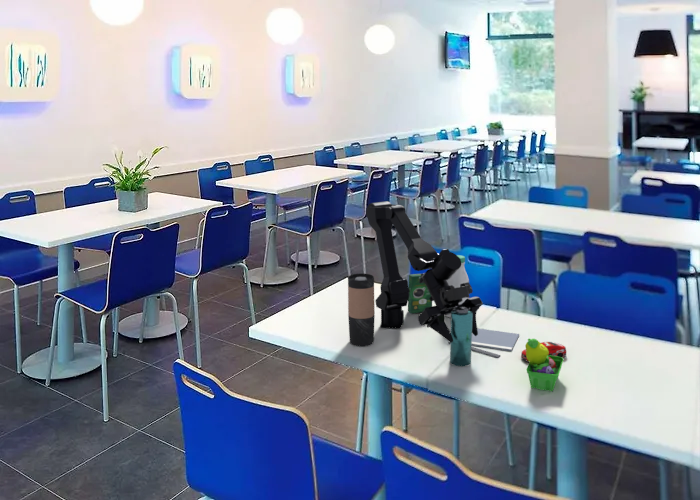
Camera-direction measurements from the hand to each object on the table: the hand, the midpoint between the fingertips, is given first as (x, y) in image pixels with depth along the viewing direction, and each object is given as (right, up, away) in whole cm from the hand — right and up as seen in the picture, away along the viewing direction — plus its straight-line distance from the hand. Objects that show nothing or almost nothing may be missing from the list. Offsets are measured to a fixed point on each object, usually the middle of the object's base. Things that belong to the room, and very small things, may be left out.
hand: (464, 338), depth 163 cm
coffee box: (-7, +3, +43) cm, 43 cm away
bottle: (-1, -7, +3) cm, 7 cm away
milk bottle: (+4, +2, +39) cm, 39 cm away
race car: (+23, -6, +5) cm, 24 cm away
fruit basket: (+18, -10, -9) cm, 22 cm away
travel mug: (-27, -4, +18) cm, 33 cm away
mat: (+12, -3, +18) cm, 21 cm away
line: (+5, -5, +11) cm, 13 cm away
